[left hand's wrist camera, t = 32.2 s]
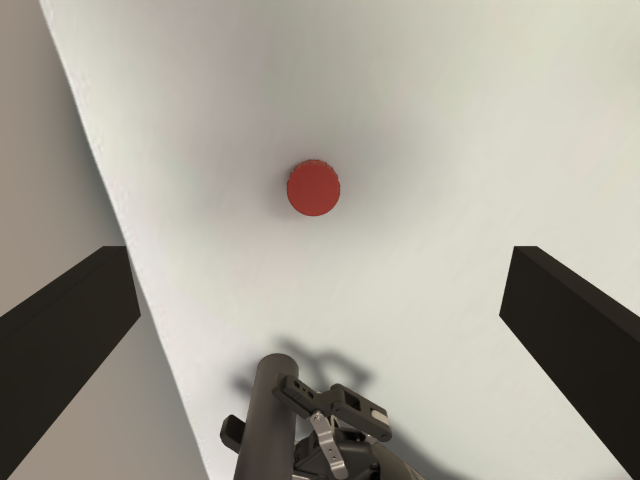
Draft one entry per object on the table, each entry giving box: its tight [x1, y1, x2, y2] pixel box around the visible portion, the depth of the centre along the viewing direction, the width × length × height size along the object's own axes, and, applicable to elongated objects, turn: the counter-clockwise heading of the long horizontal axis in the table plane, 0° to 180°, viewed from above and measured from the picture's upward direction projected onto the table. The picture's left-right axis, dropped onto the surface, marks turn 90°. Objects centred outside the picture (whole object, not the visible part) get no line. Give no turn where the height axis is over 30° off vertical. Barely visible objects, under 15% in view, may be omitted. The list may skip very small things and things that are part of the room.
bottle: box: [233, 354, 299, 480], centre depth 27 cm, size 4×4×20 cm
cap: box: [287, 159, 340, 216], centre depth 29 cm, size 4×4×2 cm
